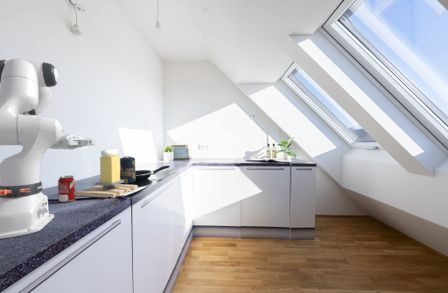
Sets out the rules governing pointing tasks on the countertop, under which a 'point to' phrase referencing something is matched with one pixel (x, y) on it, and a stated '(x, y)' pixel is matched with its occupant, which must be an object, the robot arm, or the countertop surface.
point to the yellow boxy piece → (109, 168)
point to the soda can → (66, 189)
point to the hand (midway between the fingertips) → (90, 142)
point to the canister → (127, 169)
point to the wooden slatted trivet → (106, 190)
